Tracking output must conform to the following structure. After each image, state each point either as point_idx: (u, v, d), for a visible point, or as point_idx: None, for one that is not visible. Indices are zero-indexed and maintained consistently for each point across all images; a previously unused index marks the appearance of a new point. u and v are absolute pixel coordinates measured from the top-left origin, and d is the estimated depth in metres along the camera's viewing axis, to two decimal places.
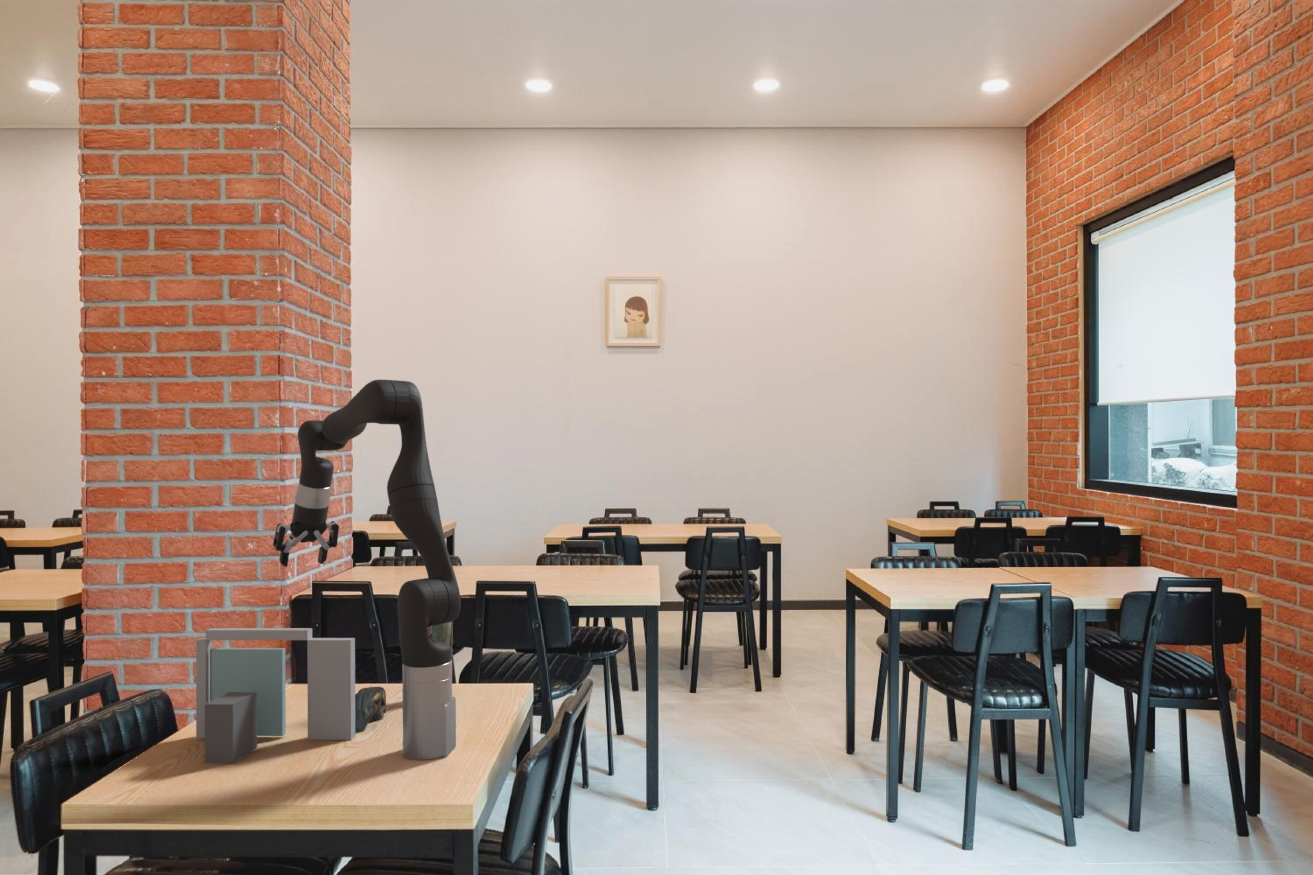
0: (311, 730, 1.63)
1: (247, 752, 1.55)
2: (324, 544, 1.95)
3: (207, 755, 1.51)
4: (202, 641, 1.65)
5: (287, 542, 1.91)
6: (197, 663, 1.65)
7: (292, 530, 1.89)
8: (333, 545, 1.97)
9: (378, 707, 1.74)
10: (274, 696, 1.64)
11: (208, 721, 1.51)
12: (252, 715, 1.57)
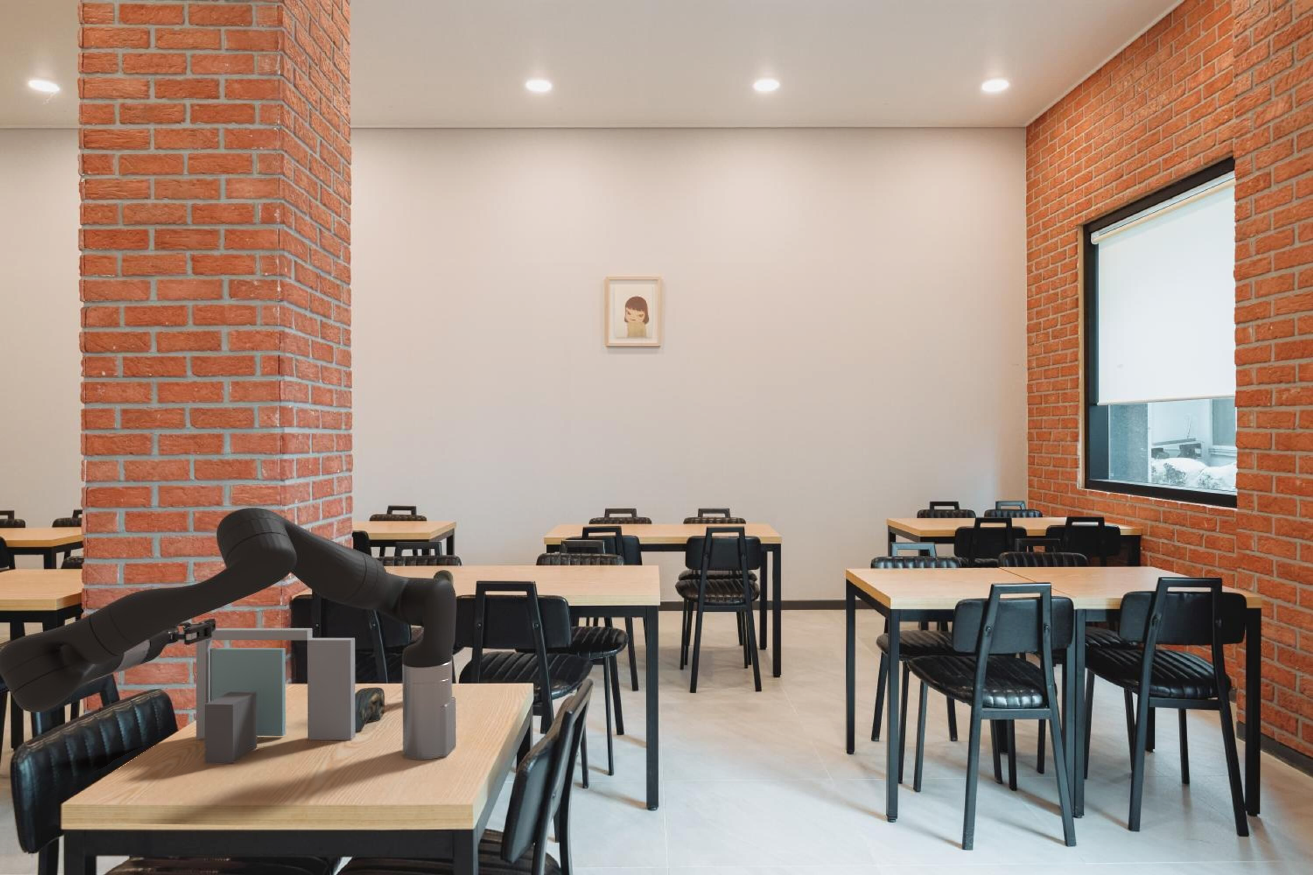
0: (311, 730, 1.63)
1: (247, 752, 1.55)
2: None
3: (207, 755, 1.51)
4: (202, 641, 1.65)
5: None
6: (197, 663, 1.65)
7: None
8: None
9: (376, 708, 1.74)
10: (274, 696, 1.64)
11: (208, 721, 1.51)
12: (252, 715, 1.57)
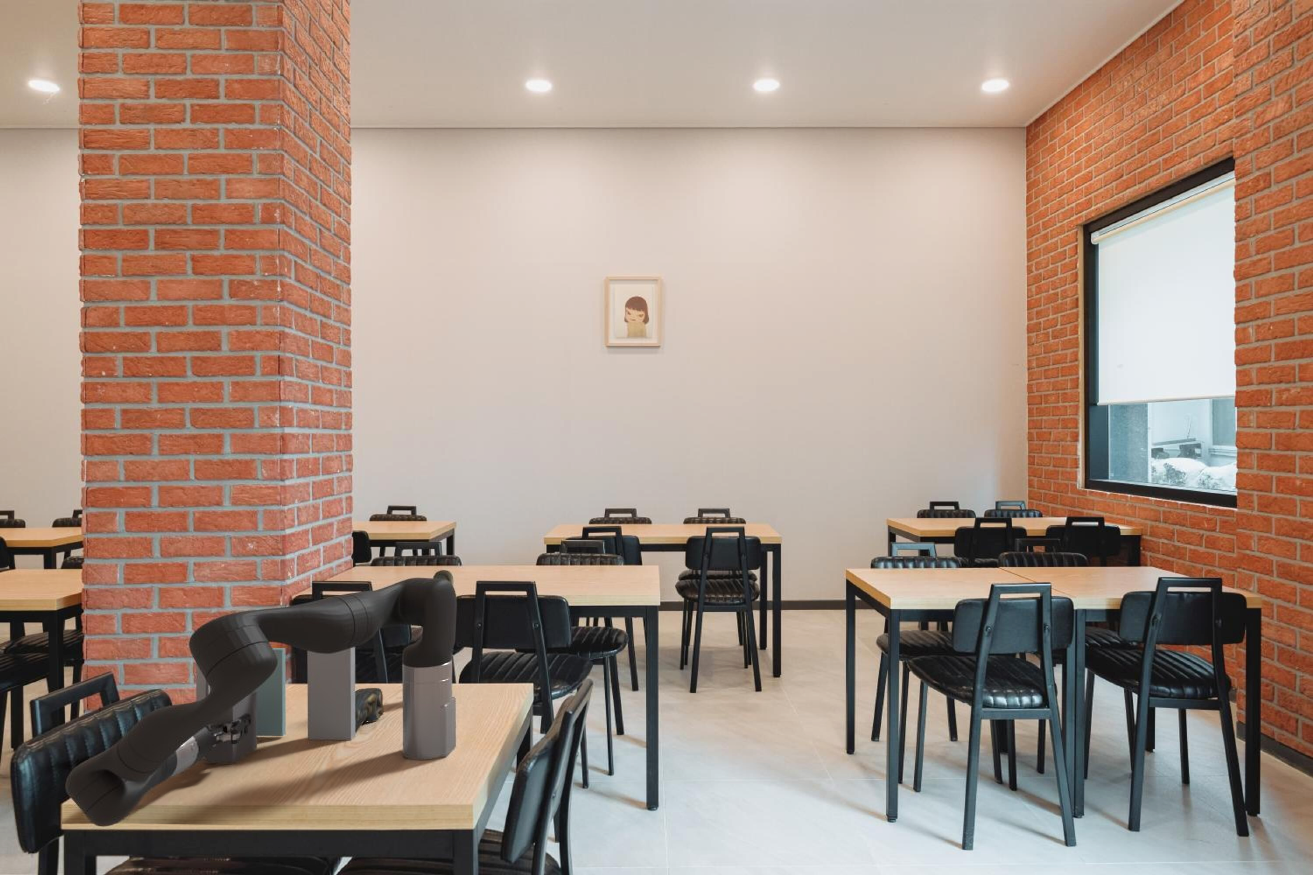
0: (311, 730, 1.63)
1: (247, 752, 1.55)
2: None
3: (207, 755, 1.51)
4: None
5: None
6: None
7: None
8: None
9: (373, 709, 1.73)
10: (274, 696, 1.64)
11: None
12: (252, 714, 1.57)
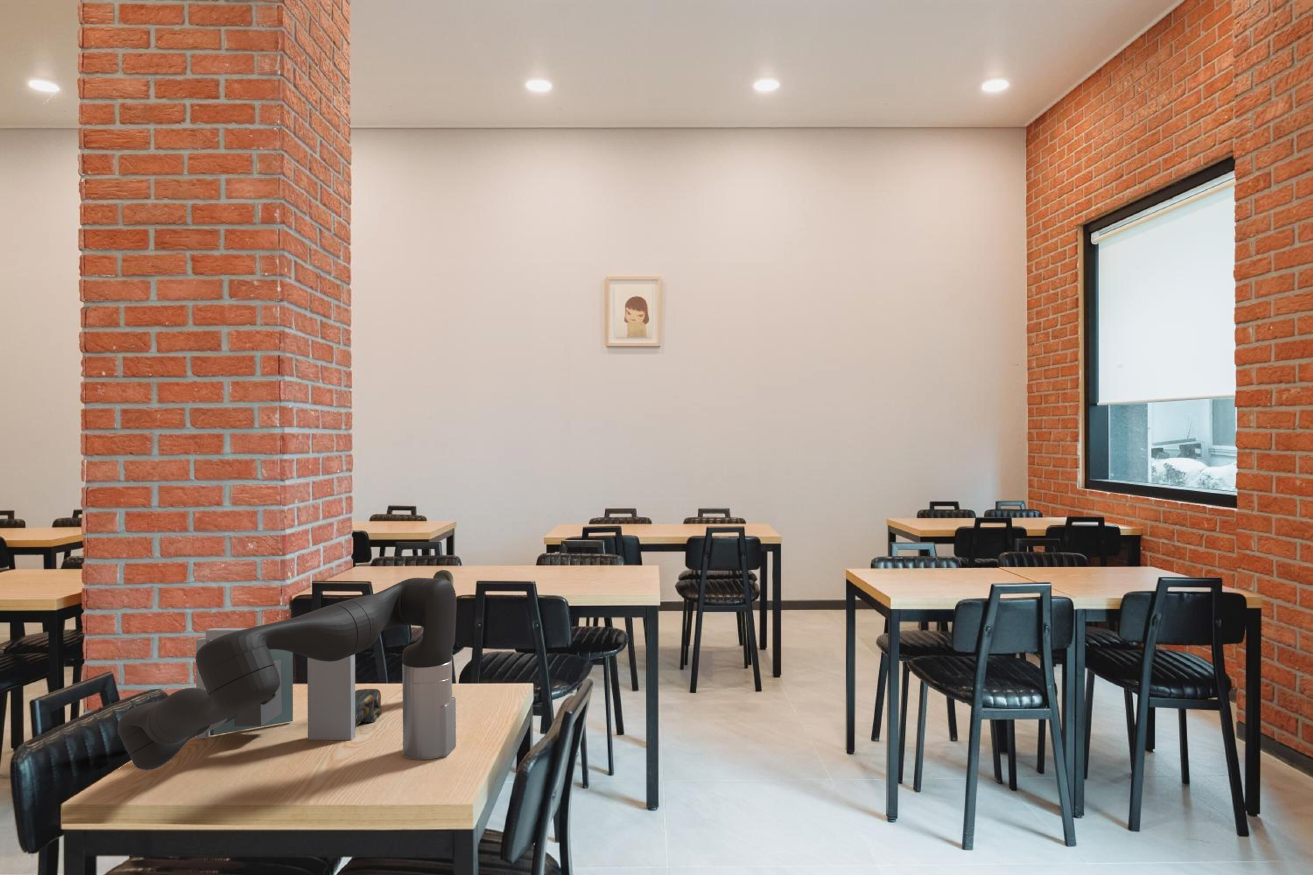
0: (311, 730, 1.63)
1: (273, 716, 1.66)
2: None
3: (236, 719, 1.61)
4: (202, 641, 1.65)
5: None
6: None
7: None
8: None
9: (370, 710, 1.72)
10: (284, 685, 1.72)
11: None
12: None
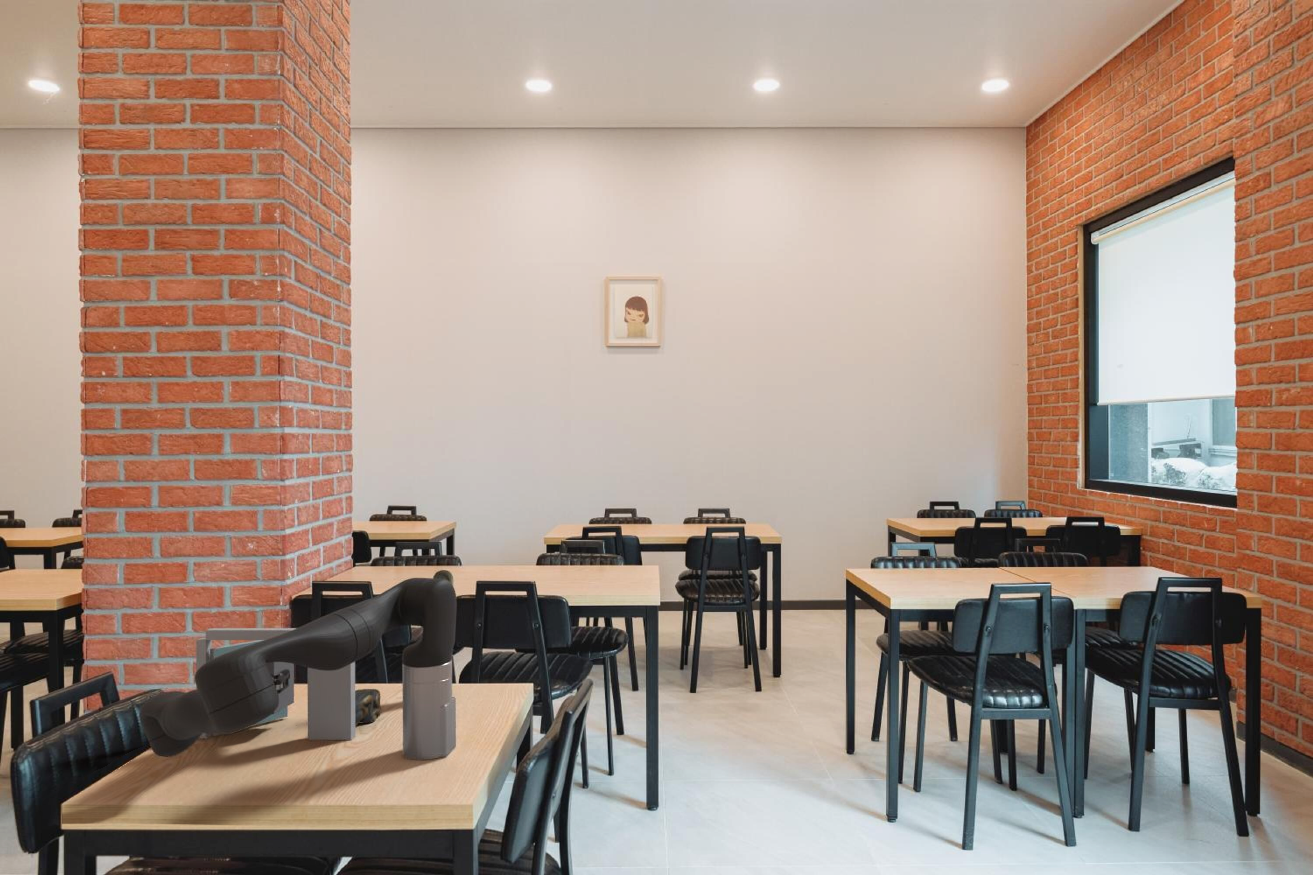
0: (311, 730, 1.63)
1: (286, 705, 1.70)
2: None
3: None
4: (202, 641, 1.65)
5: None
6: (197, 663, 1.65)
7: None
8: None
9: (369, 710, 1.72)
10: None
11: None
12: (290, 671, 1.72)
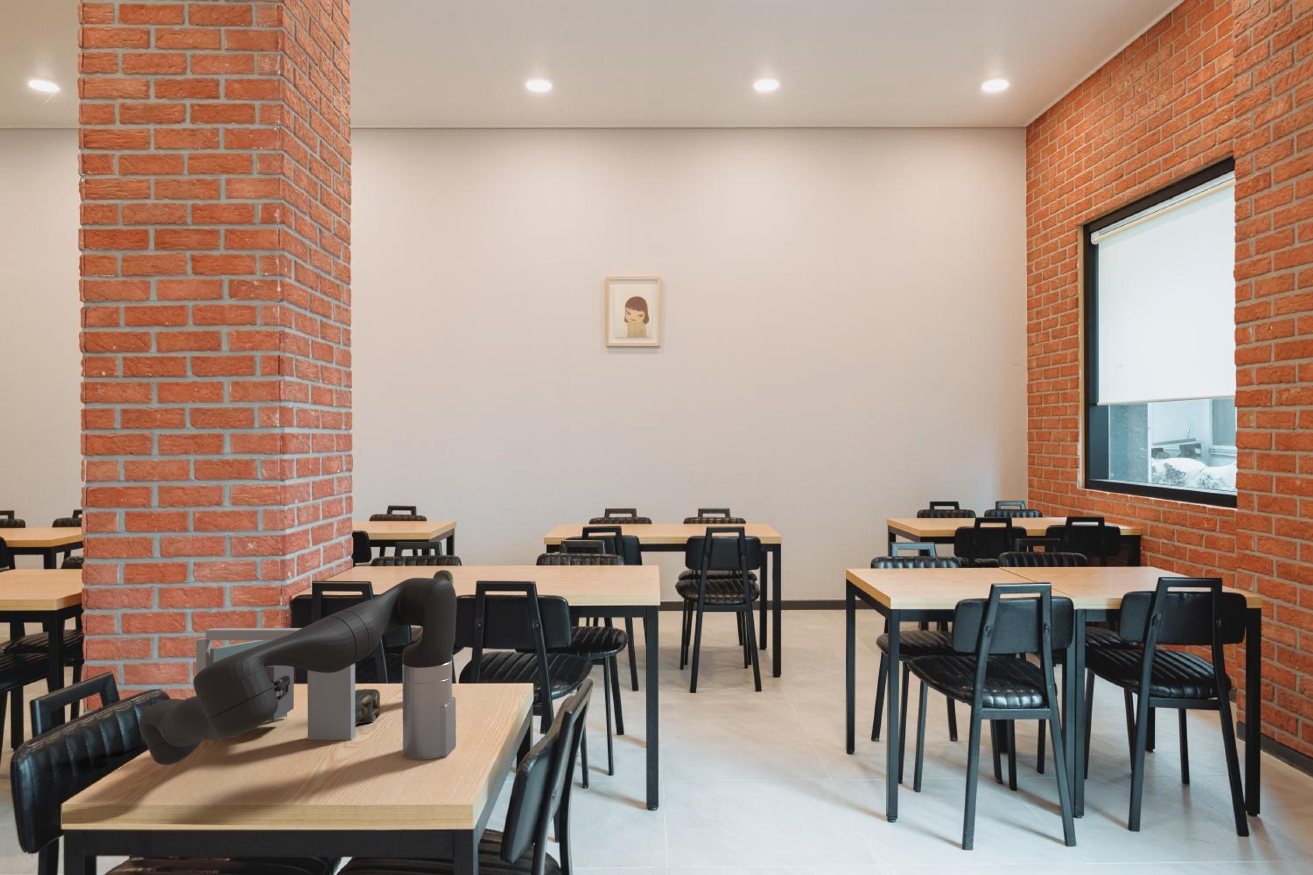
0: (311, 730, 1.63)
1: (285, 711, 1.70)
2: None
3: None
4: (202, 641, 1.65)
5: None
6: (197, 663, 1.65)
7: None
8: None
9: (368, 710, 1.72)
10: None
11: None
12: (289, 677, 1.72)
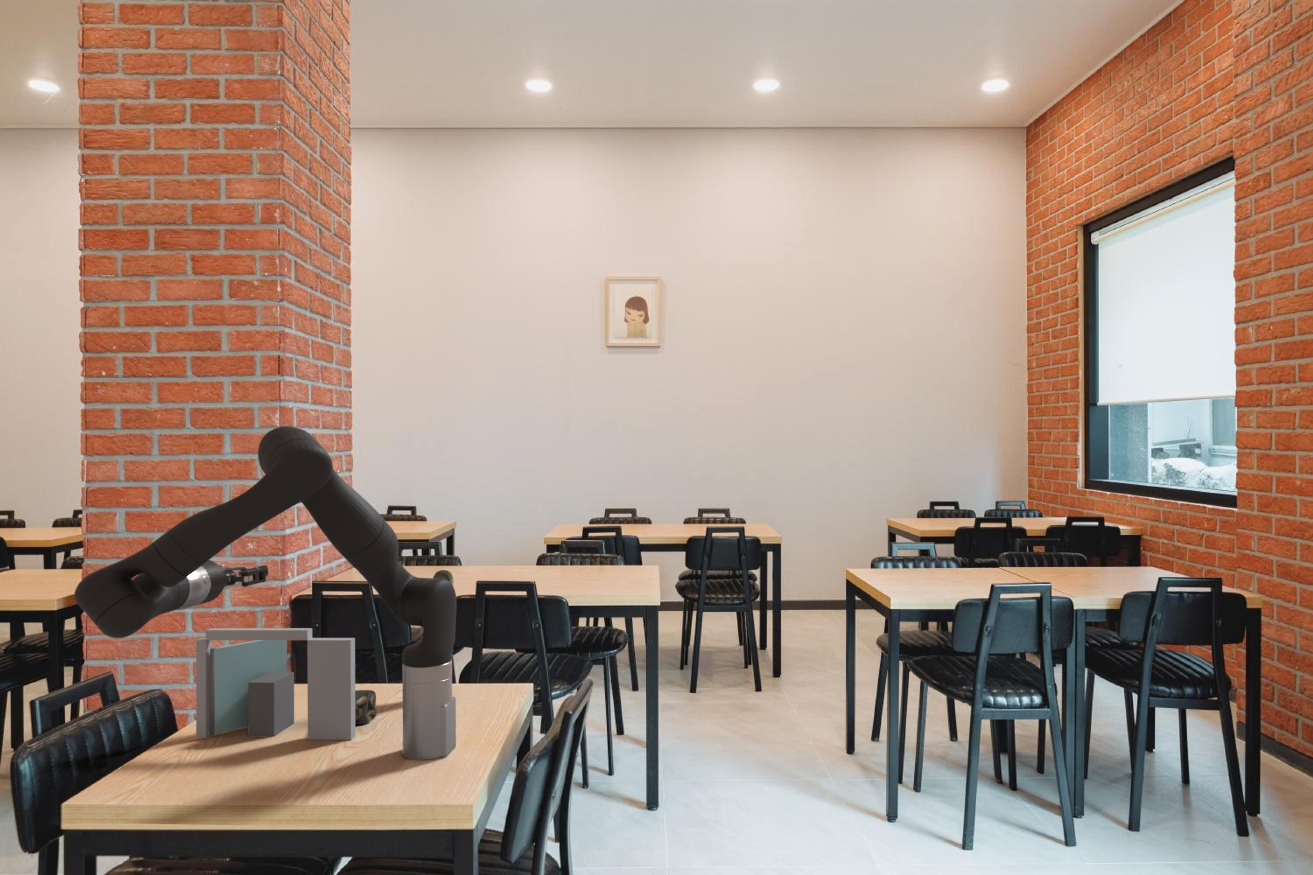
0: (311, 730, 1.63)
1: (286, 727, 1.70)
2: None
3: (250, 729, 1.66)
4: (202, 641, 1.65)
5: None
6: (197, 663, 1.65)
7: None
8: None
9: (363, 711, 1.71)
10: None
11: (251, 697, 1.66)
12: (290, 693, 1.72)
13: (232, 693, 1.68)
